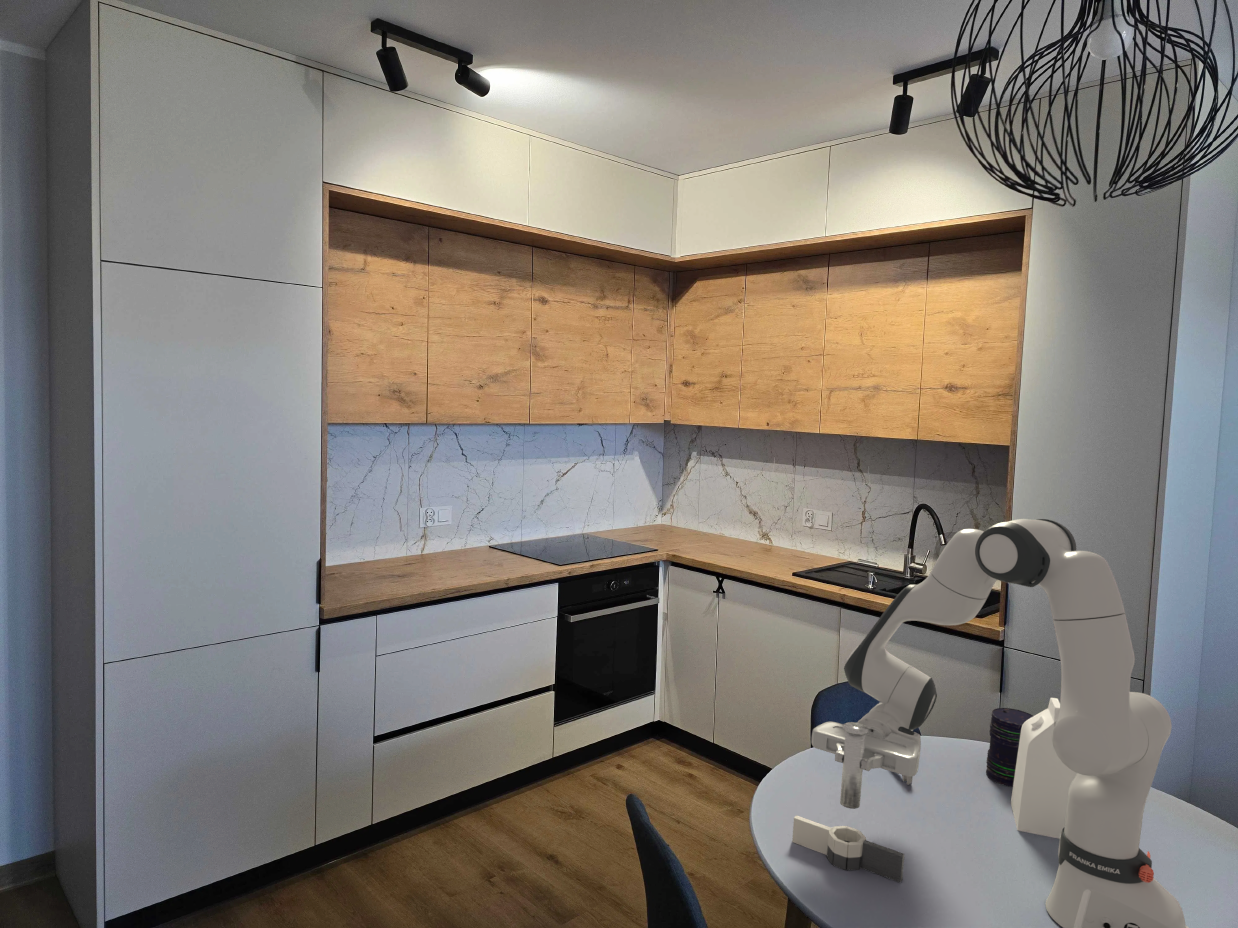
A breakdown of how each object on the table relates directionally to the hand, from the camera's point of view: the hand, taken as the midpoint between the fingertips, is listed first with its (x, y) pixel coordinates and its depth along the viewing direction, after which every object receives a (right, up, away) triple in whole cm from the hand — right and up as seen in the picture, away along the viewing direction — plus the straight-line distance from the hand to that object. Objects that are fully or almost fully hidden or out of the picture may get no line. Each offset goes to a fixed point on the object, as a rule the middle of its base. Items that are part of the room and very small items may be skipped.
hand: (851, 762), depth 157 cm
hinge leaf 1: (-3, -19, +5) cm, 20 cm away
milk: (+46, -20, +20) cm, 54 cm away
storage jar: (+48, -18, +40) cm, 65 cm away
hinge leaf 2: (+3, -20, +1) cm, 20 cm away
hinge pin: (0, -8, +2) cm, 9 cm away
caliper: (+21, -17, +44) cm, 51 cm away
